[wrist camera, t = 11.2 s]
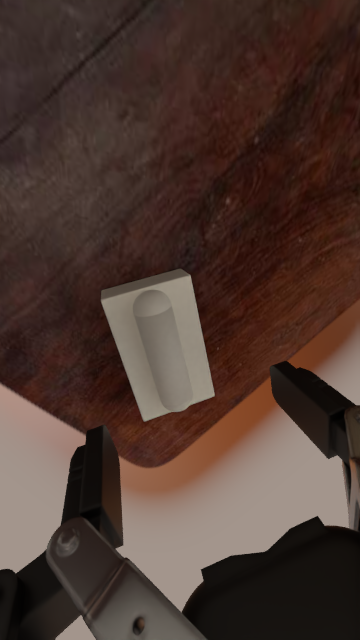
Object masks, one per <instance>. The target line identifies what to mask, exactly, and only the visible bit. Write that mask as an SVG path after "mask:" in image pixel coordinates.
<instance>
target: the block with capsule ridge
mask: <svg viewBox="0 0 360 640" xmlns="http://www.w3.org/2000/svg"><path fill="white" fill-rule="evenodd" d="M101 303H102V306H103V309H104V312H105V314H106V317H107V320H108V323H109V326H110V328H111V331H112V334H113V337H114V340H115V342H116V345H117V348H118V351H119V354H120V356H121V359H122V362H123V365H124V368H125V370H126V373H127V376H128V379H129V382H130V384H131V387H132V390H133V393H134V396H135V399H136V401H137V404H138V407H139V410H140V413H141V415H142V418H143V421H148V420H150V419H153V418H156V417H159V416H161V415H164V414H167V413H170V412H180V411H183V410H185V409H186V408H187V407H188V406H189V405H192V404H194V403H197V402H200V401H203V400H205V399H208V398H211V397H214V396H215V394H214V389H213V384H212V379H211V374H210V370H209V365H208V360H207V355H206V350H205V345H204V340H203V335H202V330H201V325H200V320H199V315H198V310H197V306H196V301H195V296H194V291H193V286H192V281H191V276H190V275H189V274H188V273H186V272H185V271H183V270H182V269H177V270H173V271H170V272H166V273H162V274H159V275H155V276H151V277H148V278H144V279H141V280H137V281H133V282H130V283H126V284H123V285H119V286H115V287H112V288H108V289H104V290H102V291H101Z"/></svg>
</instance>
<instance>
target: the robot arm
mask: <svg viewBox="0 0 360 640" xmlns="http://www.w3.org/2000/svg"><path fill="white" fill-rule="evenodd" d="M270 376H271V385H272V393H273V396H274V398H275V400H276V402H277V403H278V405H279V406H280V407H281V408H282V409H283V410H284V411H285V412H286V413H287V414H288V415H289V417H290V418H291V419H292V420H293V421H294V422H295V423H296V424H297V425H298V426H299V428H300V429H301V430H302V431H303V432H304V433H305V434H306V435H307V436H308V437H309V438H310V440H311V441H312V442H313V443H314V444H315V445H316V446H317V447H318V448H319V449H320V450H321V452H322V453H323V454H324V455H325V456H326V457H327V458H328V459H330V458H332V457H334V456H336V455H338V456H339V457H340V458H341V459H342V466H343V474H344V481H345V489H346V497H347V504H348V514H349V528H345V527H340V526H324V524H323V523H322V521H321V520H320V519H319V517H318V516H317V517H314V518H312V519H310V520H308V521H306V522H303V523H301V524H299V525H297V526H295V527H293V528H291V529H289V530H288V532H286V533H285V534H284V535H283V536H282V537H281V538H280V539H279V540H278V541H277V542H276V543H275V544H274V545H273V546H272V547H271V548H270V549H268V550H267V551H265V552H260V553H251V554H242V555H234V556H229V557H228V558H225V559H223V560H221V561H219V562H216V563H214V564H212V565H210V566H208V567H205V568H203V569H201V571H202V576H203V579H204V581H203V582H202V583H201V584H200V585H199V586H198V587H197V588H196V589H195V591H194V592H193V593H192V595H191V596H190V598H189V599H188V601H187V602H186V604H185V607H184V609H183V611H182V612H180V611H179V610H178V609H177V608H176V607H175V606H174V605H173V604H172V603H171V602H170V601H169V600H168V599H167V598H166V597H165V596H164V594H163V593H162V592H161V591H160V590H159V589H158V588H157V587H156V586H155V585H154V584H153V583H152V582H151V581H150V580H149V579H148V578H147V577H146V576H145V575H144V574H143V573H142V572H141V571H140V570H139V569H138V568H137V567H136V565H135V564H134V563H132V562H131V561H130V560H129V559H128V558H124V557H122V556H121V555H120V554H119V553H118V552H117V550H116V548H118V547H120V546H122V545H123V527H122V506H121V486H120V464H119V457H118V453H117V450H116V447H115V445H114V443H113V441H112V438H111V436H110V434H109V432H108V429H107V427H106V426H105V425H102V426H99V427H96V428H94V429H91V430H88V431H87V434H86V444H85V445H83V446H80V447H78V448H77V449H76V451H75V453H74V455H73V457H72V459H71V462H70V469H69V472H70V473H69V476H68V484H67V489H66V495H65V502H64V509H63V515H62V521H61V526H60V527H59V528H58V529H57V530H56V531H55V533H54V534H53V536H52V537H51V539H50V541H49V543H48V546H47V549H46V550H45V551H44V552H43V553H42V554H41V555H40V556H39V557H37V558H36V559H35V560H33V561H32V562H31V563H29V564H28V565H27V566H25V567H24V568H23V569H22V570H20V571H19V572H17V573H16V574H15V572H13V571H12V570H10V569H3V570H0V640H55V638H56V637H57V636H58V635H59V634H60V633H62V632H63V631H64V630H65V629H66V628H67V627H68V626H69V625H70V624H71V623H73V622H74V620H76V619H77V618H78V617H79V616H80V615H82V617H83V620H84V621H85V623H86V625H87V626H88V628H89V629H90V631H91V632H92V634H93V635H94V637H95V638H96V640H360V405H357V406H356V405H355V404H354V403H352V402H351V401H350V400H348V399H347V398H346V397H344V396H343V395H342V394H340V393H339V392H338V391H336V390H335V389H334V388H332V387H331V386H329V385H328V384H327V383H326V382H324V381H323V380H321V379H320V378H319V377H318V376H317V375H315V374H314V373H312V372H311V371H308V370H306V369H303V368H297V369H296V368H295V367H294V366H292V365H291V364H290V363H289V362H287V361H284V362H281V363H278V364H275V365H272V366H271V367H270Z"/></svg>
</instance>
